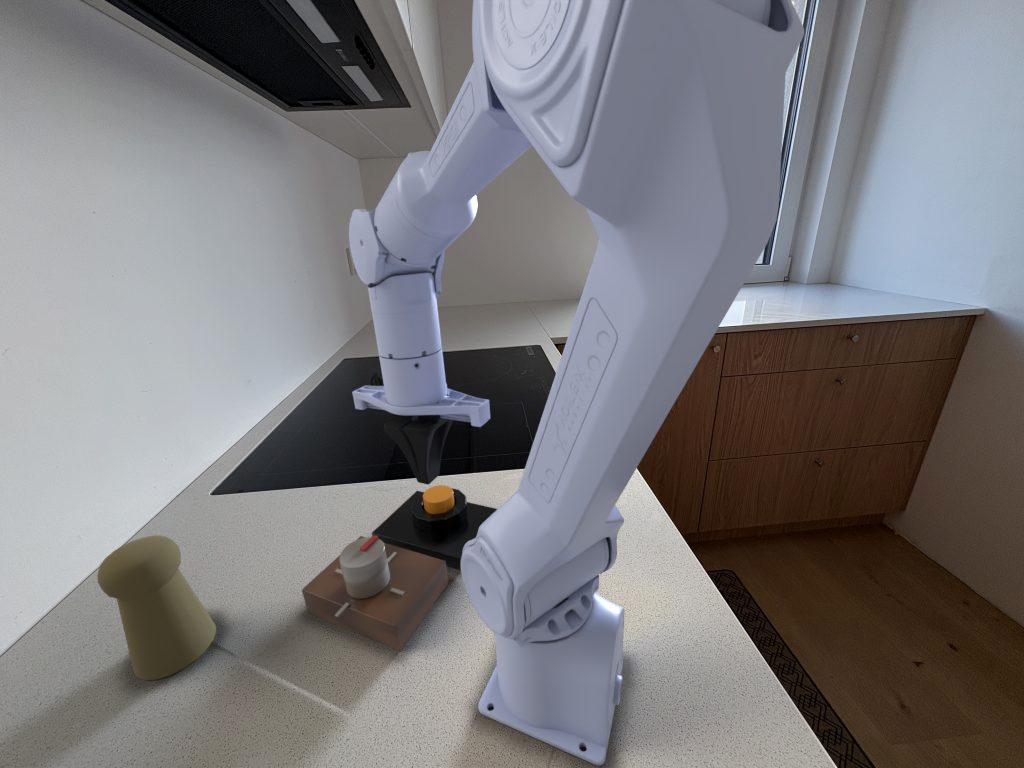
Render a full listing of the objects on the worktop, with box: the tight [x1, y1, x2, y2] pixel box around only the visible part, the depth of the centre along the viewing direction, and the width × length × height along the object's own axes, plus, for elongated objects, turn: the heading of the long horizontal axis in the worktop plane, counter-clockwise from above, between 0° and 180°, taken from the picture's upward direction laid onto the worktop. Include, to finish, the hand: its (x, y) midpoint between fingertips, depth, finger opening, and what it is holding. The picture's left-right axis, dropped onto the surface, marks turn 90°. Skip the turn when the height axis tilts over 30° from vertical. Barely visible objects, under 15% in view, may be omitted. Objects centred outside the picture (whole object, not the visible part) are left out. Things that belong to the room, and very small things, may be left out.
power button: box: [423, 484, 455, 514], centre depth 51 cm, size 4×4×2 cm
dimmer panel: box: [301, 535, 449, 652], centre depth 41 cm, size 11×9×3 cm
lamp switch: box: [371, 487, 498, 571], centre depth 50 cm, size 12×9×4 cm
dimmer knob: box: [339, 535, 390, 599], centre depth 39 cm, size 4×4×4 cm
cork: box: [96, 534, 217, 681], centre depth 36 cm, size 6×6×11 cm
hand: (428, 478), depth 43 cm, fingers closed
